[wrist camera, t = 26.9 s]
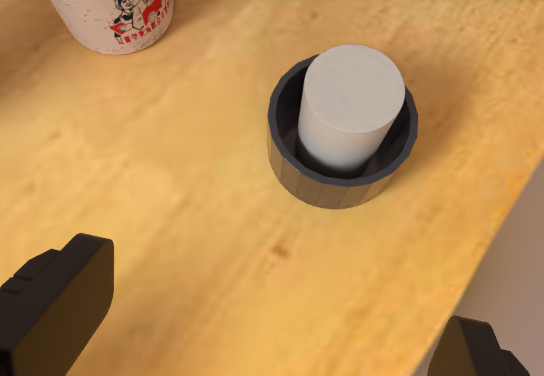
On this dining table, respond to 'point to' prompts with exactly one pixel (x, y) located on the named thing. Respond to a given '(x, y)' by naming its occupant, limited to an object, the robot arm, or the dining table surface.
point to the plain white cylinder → (347, 109)
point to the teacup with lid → (115, 23)
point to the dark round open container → (315, 185)
